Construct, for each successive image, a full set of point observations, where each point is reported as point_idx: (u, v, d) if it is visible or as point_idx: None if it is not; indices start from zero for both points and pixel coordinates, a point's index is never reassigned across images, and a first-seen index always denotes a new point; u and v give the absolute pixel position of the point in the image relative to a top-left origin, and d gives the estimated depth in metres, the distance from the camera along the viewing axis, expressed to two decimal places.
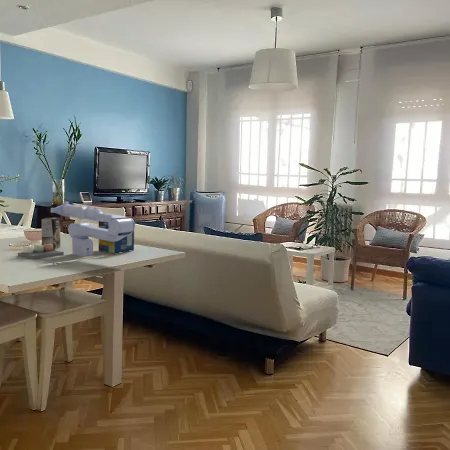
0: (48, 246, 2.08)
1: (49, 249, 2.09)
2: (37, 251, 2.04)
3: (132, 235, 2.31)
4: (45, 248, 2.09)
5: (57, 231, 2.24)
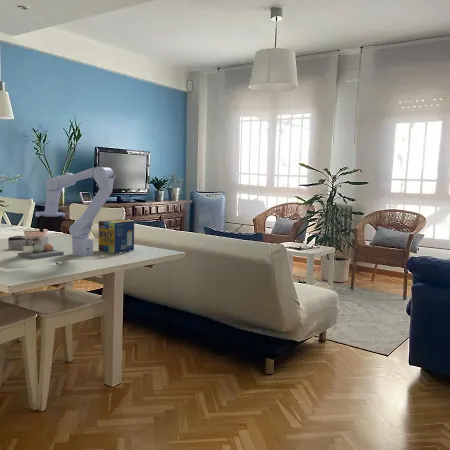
0: (48, 246, 2.08)
1: (49, 249, 2.09)
2: (37, 251, 2.04)
3: (132, 235, 2.31)
4: (45, 248, 2.09)
5: (25, 237, 2.24)
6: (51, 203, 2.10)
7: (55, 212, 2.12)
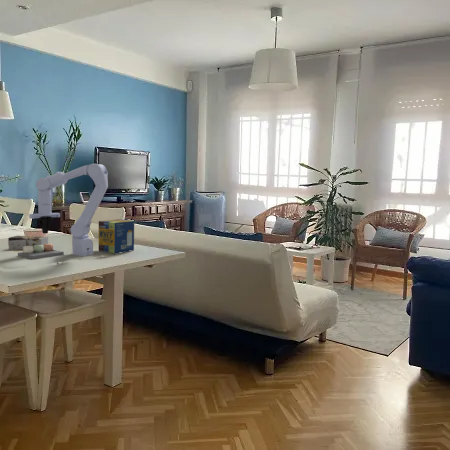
0: (48, 246, 2.08)
1: (49, 249, 2.09)
2: (37, 251, 2.04)
3: (132, 235, 2.31)
4: (45, 248, 2.09)
5: (25, 237, 2.24)
6: (45, 203, 2.07)
7: (49, 212, 2.09)
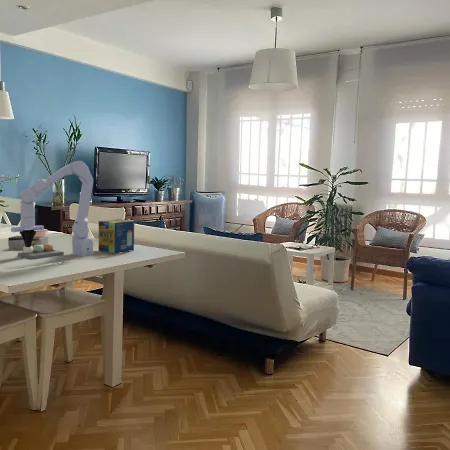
0: (48, 246, 2.08)
1: (49, 249, 2.09)
2: (37, 251, 2.04)
3: (132, 235, 2.31)
4: (45, 248, 2.09)
5: None
6: (30, 216, 1.99)
7: (32, 225, 2.00)
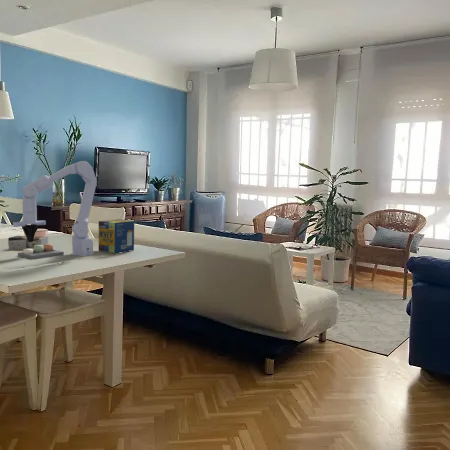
0: (48, 246, 2.08)
1: (49, 249, 2.09)
2: (37, 251, 2.04)
3: (132, 235, 2.31)
4: (45, 248, 2.09)
5: (25, 237, 2.24)
6: (32, 211, 1.99)
7: (34, 220, 2.00)
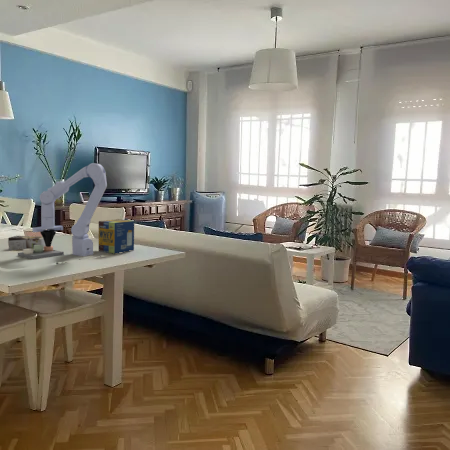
0: (48, 248, 2.09)
1: None
2: (37, 251, 2.04)
3: (132, 235, 2.31)
4: (45, 250, 2.09)
5: (25, 237, 2.24)
6: (49, 217, 2.06)
7: (52, 225, 2.08)
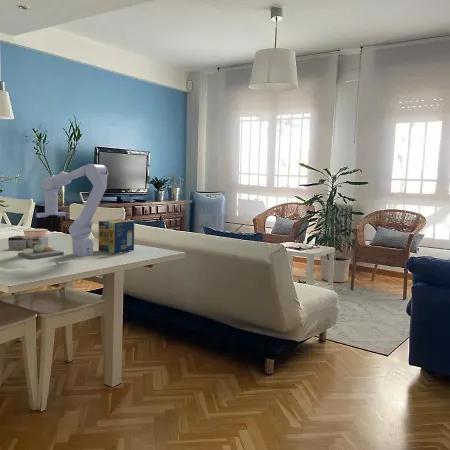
0: (48, 249, 2.09)
1: None
2: (37, 251, 2.04)
3: (132, 235, 2.31)
4: None
5: (25, 237, 2.24)
6: (50, 203, 2.11)
7: (55, 211, 2.13)
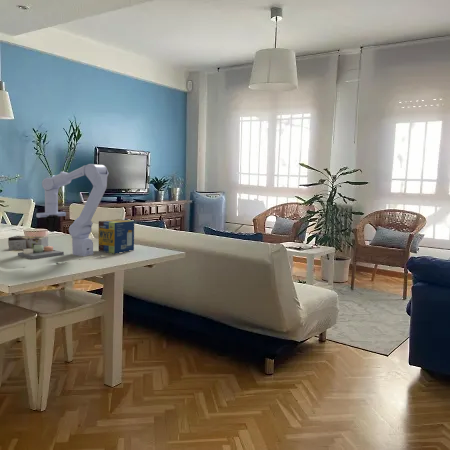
0: (48, 249, 2.09)
1: None
2: (37, 251, 2.04)
3: (132, 235, 2.31)
4: None
5: (25, 237, 2.24)
6: (50, 203, 2.11)
7: (55, 211, 2.13)
